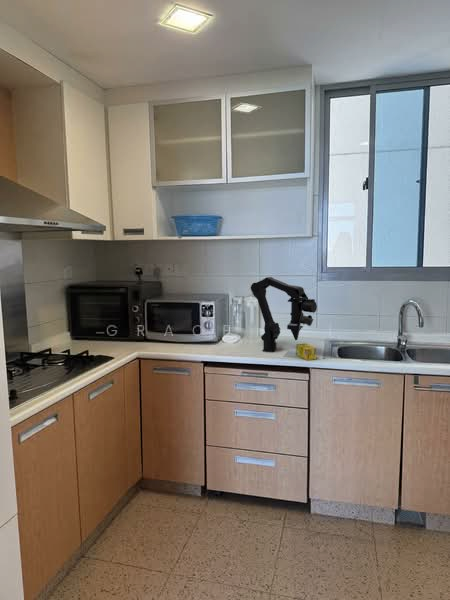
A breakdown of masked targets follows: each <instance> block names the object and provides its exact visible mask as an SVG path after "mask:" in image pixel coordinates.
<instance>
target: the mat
mask: <svg viewBox="0 0 450 600" xmlns="http://www.w3.org/2000/svg"><path fill="white" fill-rule="evenodd" d="M283 356H284V358H285V357H286V358H297V359H303V358H302V357H300V356H298V355H296V351H295V350H294V351H293V350H288V351H286V352H285V354H284V355H283Z"/></svg>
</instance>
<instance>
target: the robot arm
mask: <svg viewBox="0 0 450 600" xmlns="http://www.w3.org/2000/svg"><path fill="white" fill-rule="evenodd" d="M268 287H269V288H270V287H272V288H275V289H277V290H280V291H282V292H285V293H286V294H287V296H289V297H290V298H289V299H287V302H288V303H290V305H291V306H290V309H291V310H290V321H289V323H288V324H287V326H286V328H287V329H286V330H290V331H291V333H292V336H293V338H294V340H295V341H297V340H298V338H299V335H300V332H301V330H302V329H303V327H304V326H302V325H307V326H309V327H310V326H311V325H312V324H313V322H314V318H313V316H312V315H310V314H308V315H304V313H311V314H312V313H316V312H317V309H318V304H317V303H316V299H315V298H309V297H308V295H307V294H306V292H305V288H304V287H302V286H299V285H291V284H289V283H286V282H283V281H281V280H278V279H275V278H274V277H272V276H270V277H269V276H268V277H265V278H263V279H262V280H261V279H260V280H258V281H257V282H253V283H251V285H250V291H251V293H252V295H253V296H254V298H256V299H257V303H258V306H259V309H260V313H261V315H262V319H263V321H264V328H263V329H264V333H263V334H262V335H261V337H260V338H261V341H263V344H262V345H263V349H262V352H269V353H275V352H276V351H277V347H278V345H277V343H278V342H277V341H276V340H277V339H278V337H279V336H280V334H281V328H280V324H279V323H278V322H275V321H274V318H273V316H272V312H271V309H270V306H269V303H268V300H267V297H266V295H267V288H268ZM301 324H302V325H301Z"/></svg>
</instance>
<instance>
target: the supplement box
mask: <svg viewBox="0 0 450 600" xmlns="http://www.w3.org/2000/svg"><path fill="white" fill-rule="evenodd" d="M317 351H318V350H317V347H315V346H312V345H310V344H308V343H297V344H296V355H298V356H300V357H302V358H301V359H303V360H306V361H309V360H311V361H312V360H317Z"/></svg>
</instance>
